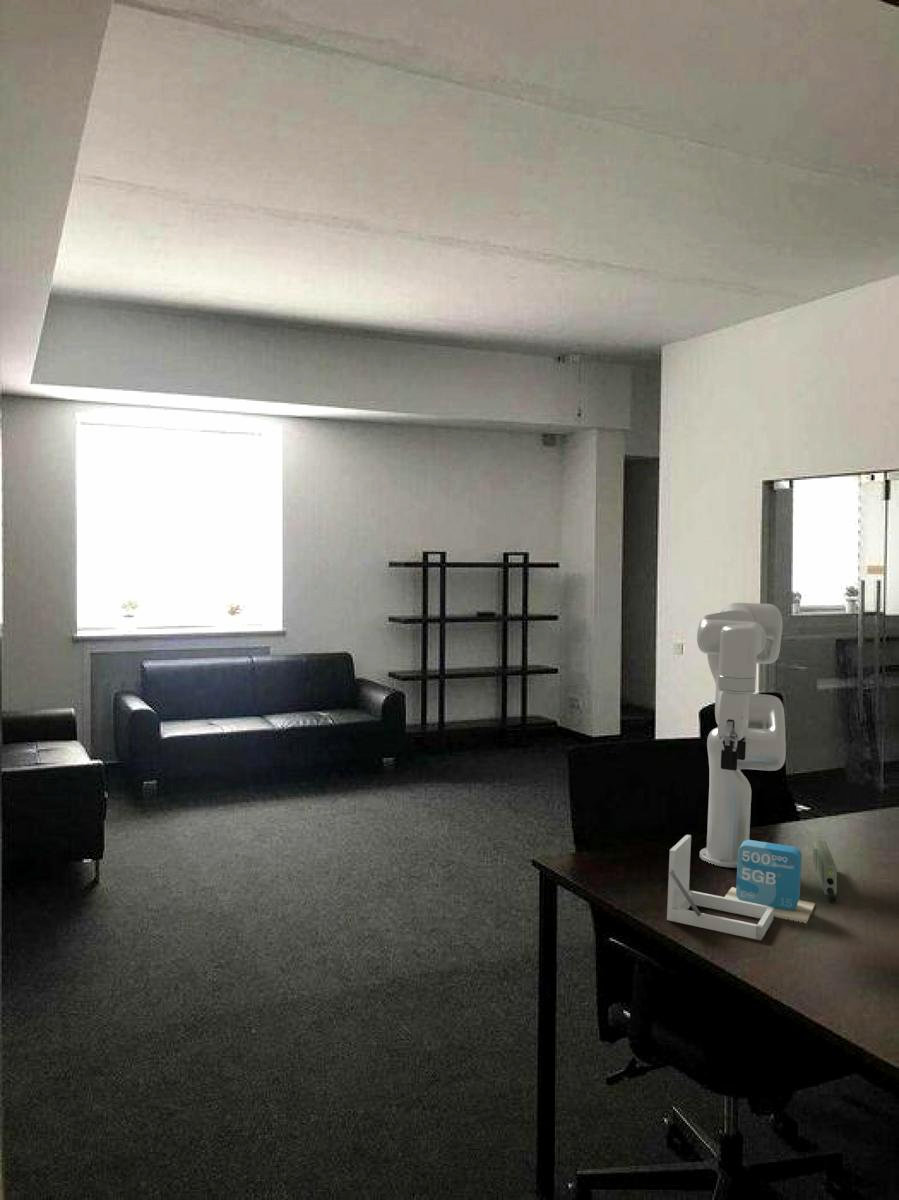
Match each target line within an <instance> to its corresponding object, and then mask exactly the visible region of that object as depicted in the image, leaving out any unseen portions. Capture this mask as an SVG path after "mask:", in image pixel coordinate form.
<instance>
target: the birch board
mask: <svg viewBox="0 0 899 1200" xmlns="http://www.w3.org/2000/svg"><path fill="white" fill-rule="evenodd" d="M724 897H726V898H731V899H736V900H739V899H738V898H737V895H736V887H734V886H732V887H731V888H730V889H729V890H728V891H727V893H725V896H724ZM815 907H816V902H811V901H806V900H805V901H804V900H800V899H799V901H798V904H797V907H796V908H795V909H793V910H785V909H779V908H774V917H775V918H778V919H784V920H788V919H789V920H788V921H793V920H794V921H793V922H798V921H799V922H798V923H802V922H803V923H804V924H807V923H808V921H809V919H810V917H811V915H812V913H813V911H814V909H815Z"/></svg>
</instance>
